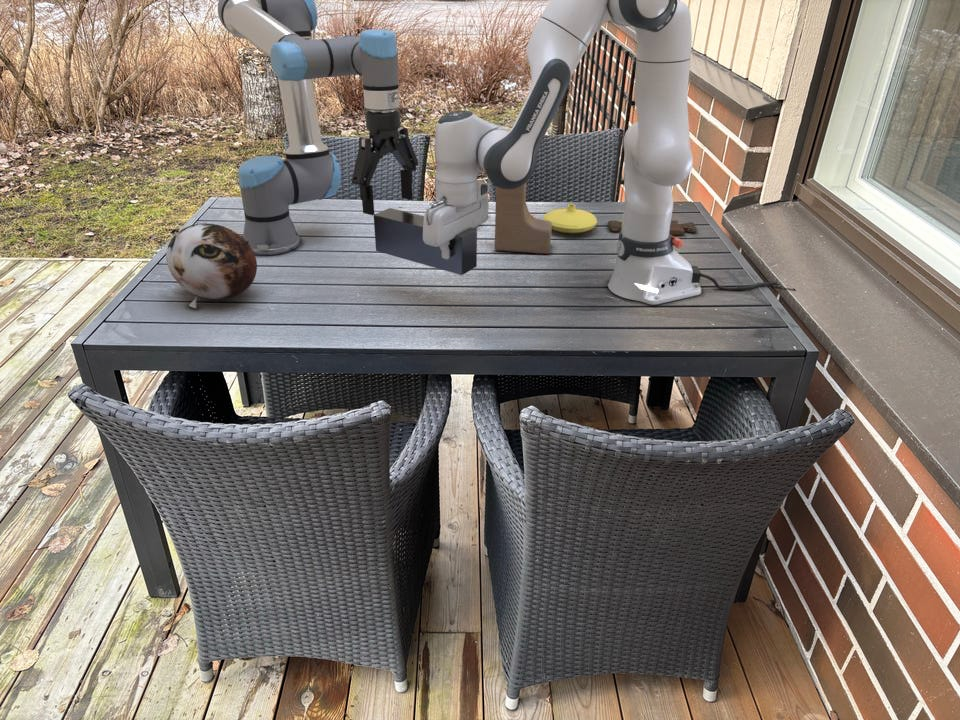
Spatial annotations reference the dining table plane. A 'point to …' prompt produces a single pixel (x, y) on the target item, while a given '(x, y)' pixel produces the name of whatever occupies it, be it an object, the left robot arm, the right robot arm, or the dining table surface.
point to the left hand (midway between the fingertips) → (388, 206)
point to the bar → (422, 242)
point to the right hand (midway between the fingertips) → (456, 252)
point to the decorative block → (519, 224)
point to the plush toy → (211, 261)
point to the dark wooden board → (674, 229)
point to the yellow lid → (571, 220)
